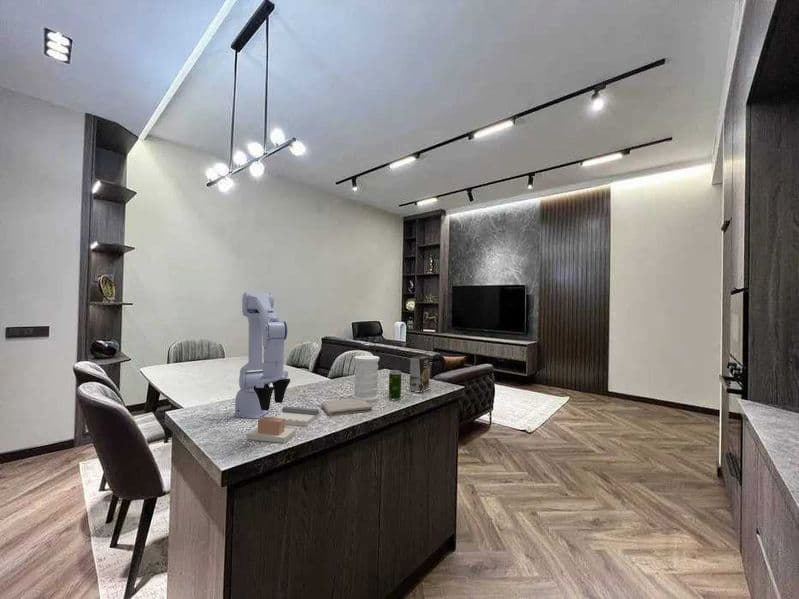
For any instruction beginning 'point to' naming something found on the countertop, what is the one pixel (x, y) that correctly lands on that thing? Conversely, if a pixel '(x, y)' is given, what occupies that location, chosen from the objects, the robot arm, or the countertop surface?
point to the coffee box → (419, 373)
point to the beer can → (395, 384)
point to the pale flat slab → (271, 430)
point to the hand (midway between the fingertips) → (272, 406)
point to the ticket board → (299, 415)
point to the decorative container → (366, 378)
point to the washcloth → (346, 406)
